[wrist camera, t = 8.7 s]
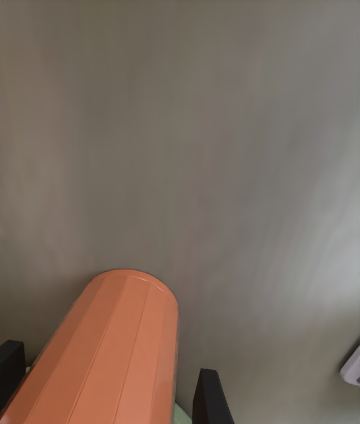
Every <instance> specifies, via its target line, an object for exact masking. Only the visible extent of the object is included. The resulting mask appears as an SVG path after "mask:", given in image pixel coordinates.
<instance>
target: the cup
mask: <svg viewBox="0 0 360 424" xmlns="http://www.w3.org/2000/svg"><path fill="white" fill-rule="evenodd" d="M178 341H179V308H178V304H177V301H176V299H175V297H174V295H173V294H172V292H171V291H170V290H169V288H168V287H167V286H166V285H165V284H163V283H162V282H161V281H160V280H158V279H157V278H155V277H153V276H151V275H149V274H147V273H144V272H141V271H137V270H131V269H117V270H111V271H107V272H104V273H102V274H100V275H98V276H96V277H95V278H93V279H92V280H91V281H90V282H88V283H87V285H86V286H85V287H84V289H83V290H82V292H81V293H80V294H79V295H78V297H77V298H76V299H75V301H74V302H73V304H72V305H71V307H70V308H69V310H68V311H67V313H66V314H65V316H64V317H63V319H62V320H61V322H60V324H59V325H58V327H57V328H56V330H55V331H54V333H53V334H52V336H51V337H50V339H49V340H48V342H47V343H46V345H45V346H44V348H43V349H42V351H41V352H40V354H39V355H38V357H37V358H36V360H35V361H34V363H33V364H32V366H31V367H30V369H29V370H28V372H27V373H26V375H25V376H24V378H23V379H22V381H21V382H20V384H19V385H18V387H17V388H16V390H15V391H14V393H13V394H12V396H11V397H10V399H9V400H8V402H7V403H6V405H5V406H4V408H3V409H2V411H1V412H0V424H173V423H174V406H175V390H176V374H177V357H178Z"/></svg>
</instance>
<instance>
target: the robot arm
mask: <svg viewBox="0 0 360 424" xmlns="http://www.w3.org/2000/svg"><path fill="white" fill-rule="evenodd" d="M25 375H26V364H25V354H24V344H23V342H19V341H13V340H8V341H6V342H5V343H3V344H2V345H1V346H0V412H1V411H2V409H3V408H4V406H5V405H6V403H7V402H8V400H9V399H10V397H11V396H12V394H13V393H14V391H15V390H16V388H17V387H18V385H19V384H20V382H21V381H22V379H23V378H24V376H25ZM340 375H341V376H342V378H343V380H344V381H345V382H347V383H350V384H353V385H356V386H360V345H359V347H358V348H357V349H356V351H355V352H354V353H353V354H352V356H351V357H350V358H349V360H348V361H347V362H346V364H345V365H344V366H343V367H342V369H341V371H340ZM192 424H235V423H234V421H233V418H232V415H231V413H230V410H229V407H228V404H227V401H226V398H225V395H224V392H223V389H222V386H221V382H220V379H219V375H218V372H217V371H216V370H210V369H204V368H201V369H200V374H199V378H198V382H197V386H196V391H195V395H194V399H193V410H192Z"/></svg>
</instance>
